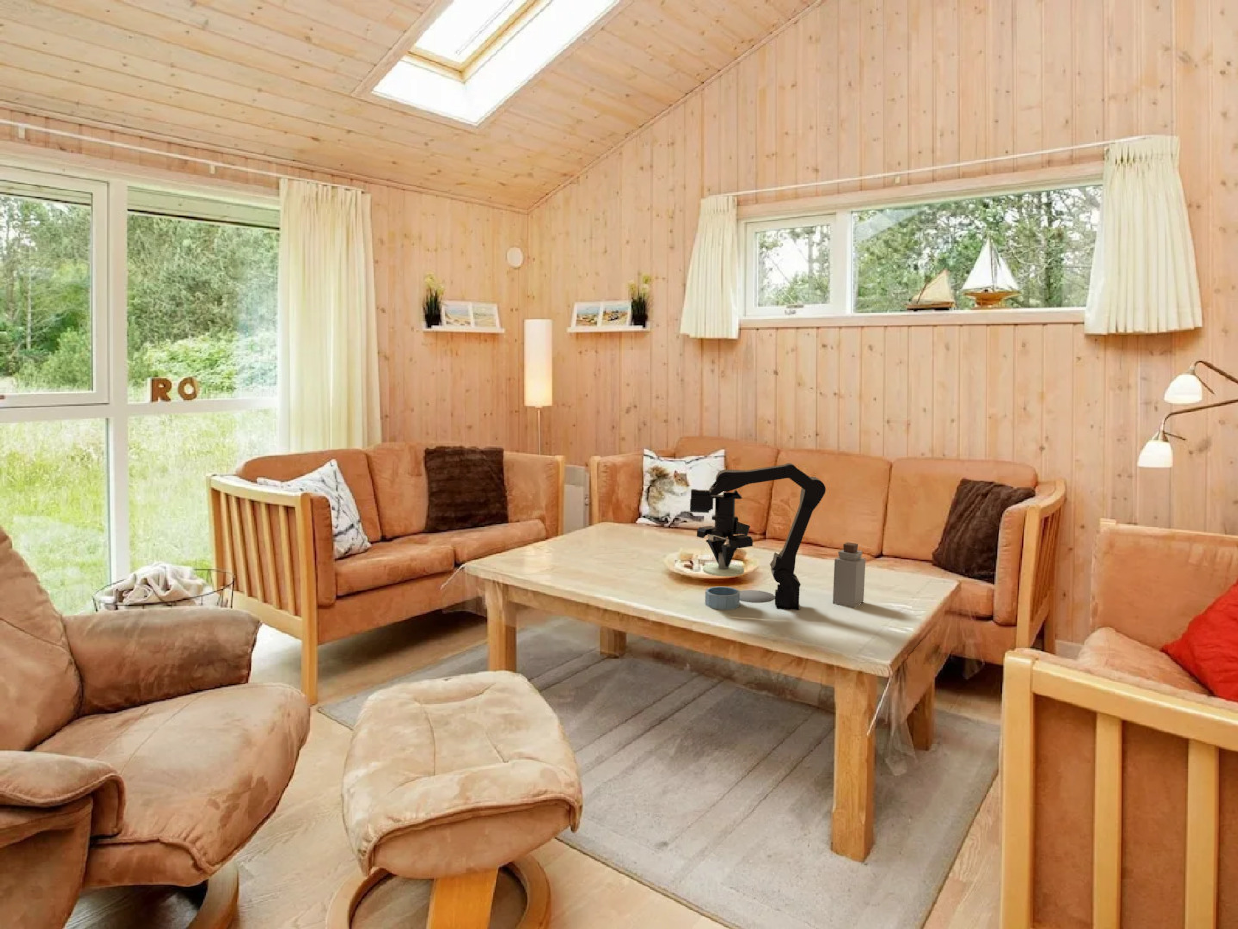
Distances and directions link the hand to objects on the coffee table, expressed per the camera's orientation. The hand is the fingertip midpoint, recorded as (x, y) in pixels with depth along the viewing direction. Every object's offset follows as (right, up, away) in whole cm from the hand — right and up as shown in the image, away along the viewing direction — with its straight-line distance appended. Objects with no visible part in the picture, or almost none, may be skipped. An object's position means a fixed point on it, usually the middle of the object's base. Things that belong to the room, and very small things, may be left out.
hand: (723, 565), depth 227 cm
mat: (+11, -11, +9) cm, 18 cm away
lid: (0, -2, 0) cm, 2 cm away
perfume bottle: (+38, -12, +4) cm, 40 cm away
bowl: (0, -12, +1) cm, 12 cm away
